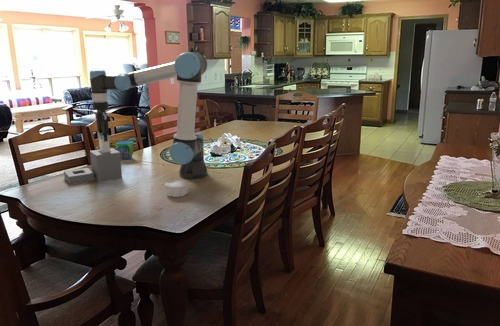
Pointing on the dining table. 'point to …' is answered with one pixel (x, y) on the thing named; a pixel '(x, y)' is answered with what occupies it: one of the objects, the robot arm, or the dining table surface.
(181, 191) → the ramekin
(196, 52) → the robot arm
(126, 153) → the snack cup
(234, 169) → the dining table surface
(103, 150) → the plug
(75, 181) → the plate
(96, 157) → the block
